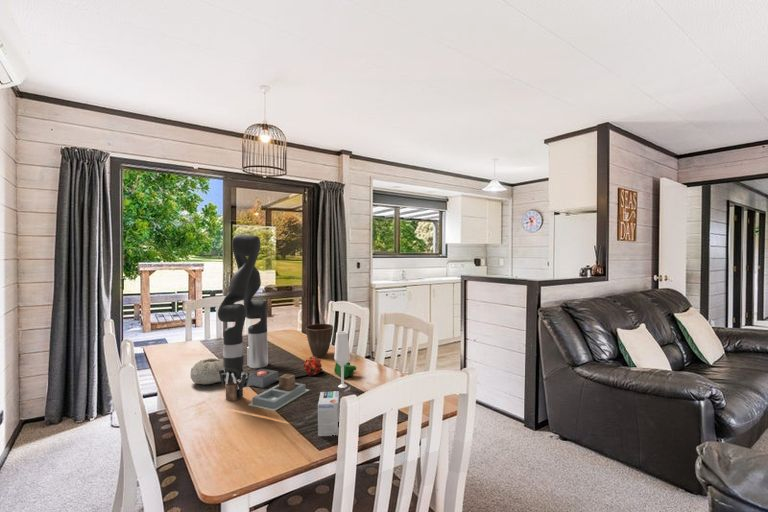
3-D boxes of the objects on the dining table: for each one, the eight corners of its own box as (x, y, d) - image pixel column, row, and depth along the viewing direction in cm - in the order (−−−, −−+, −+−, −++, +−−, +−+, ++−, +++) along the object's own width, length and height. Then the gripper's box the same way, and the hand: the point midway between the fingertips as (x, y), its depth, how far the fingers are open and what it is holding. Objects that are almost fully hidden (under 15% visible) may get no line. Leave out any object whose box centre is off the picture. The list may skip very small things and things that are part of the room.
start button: (255, 382, 173) (255, 373, 173) (261, 379, 176) (261, 370, 176) (262, 383, 171) (262, 374, 171) (268, 380, 175) (268, 371, 175)
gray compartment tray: (247, 407, 150) (247, 398, 150) (284, 387, 170) (284, 379, 170) (274, 413, 145) (274, 404, 145) (309, 392, 165) (309, 383, 165)
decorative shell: (224, 372, 190) (223, 352, 190) (240, 381, 178) (240, 359, 177) (184, 382, 178) (184, 360, 178) (199, 392, 165) (198, 369, 165)
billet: (279, 394, 160) (278, 377, 160) (286, 390, 164) (286, 373, 164) (288, 395, 158) (287, 378, 158) (295, 391, 163) (294, 375, 162)
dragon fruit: (314, 372, 194) (314, 384, 182) (299, 364, 192) (299, 375, 180) (324, 358, 193) (325, 370, 182) (310, 350, 191) (310, 361, 180)
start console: (245, 386, 171) (244, 375, 171) (261, 379, 180) (260, 368, 180) (263, 390, 167) (262, 378, 167) (278, 382, 176) (278, 371, 176)
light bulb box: (320, 421, 138) (319, 391, 137) (339, 420, 138) (339, 390, 138) (317, 437, 127) (317, 404, 127) (338, 435, 128) (338, 403, 127)
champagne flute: (338, 392, 164) (337, 335, 163) (332, 387, 170) (331, 331, 169) (353, 389, 167) (352, 333, 166) (347, 384, 173) (346, 330, 172)
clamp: (351, 385, 183) (358, 370, 181) (339, 385, 180) (346, 369, 178) (344, 369, 193) (350, 353, 191) (333, 368, 190) (339, 352, 188)
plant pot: (339, 354, 219) (338, 325, 219) (321, 361, 207) (320, 330, 206) (318, 350, 227) (318, 322, 227) (300, 356, 215) (299, 327, 214)
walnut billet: (225, 401, 156) (225, 384, 155) (234, 397, 160) (234, 380, 159) (234, 403, 154) (234, 386, 153) (243, 399, 158) (242, 382, 158)
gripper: (212, 354, 155) (213, 397, 156) (240, 359, 150) (241, 403, 150) (227, 349, 162) (228, 390, 163) (254, 353, 156) (255, 396, 157)
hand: (234, 396), depth 157 cm, fingers closed on walnut billet, 4 cm apart
